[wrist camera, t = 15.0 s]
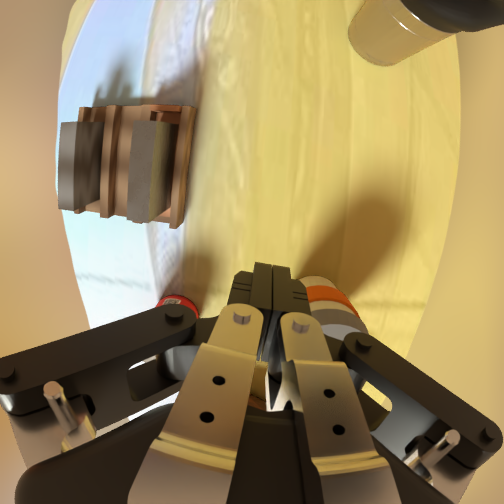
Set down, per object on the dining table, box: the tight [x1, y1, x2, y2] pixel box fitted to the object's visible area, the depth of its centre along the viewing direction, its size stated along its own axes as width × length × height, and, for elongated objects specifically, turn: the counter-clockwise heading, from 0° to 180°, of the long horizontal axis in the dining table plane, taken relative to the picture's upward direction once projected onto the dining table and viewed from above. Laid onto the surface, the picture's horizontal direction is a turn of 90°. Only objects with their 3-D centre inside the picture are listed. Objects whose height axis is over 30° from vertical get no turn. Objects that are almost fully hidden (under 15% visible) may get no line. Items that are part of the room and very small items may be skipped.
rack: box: [58, 105, 196, 229], centre depth 34 cm, size 17×18×10 cm
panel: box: [127, 120, 179, 223], centre depth 34 cm, size 12×3×8 cm, turn 171°
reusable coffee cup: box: [299, 276, 368, 341], centre depth 39 cm, size 13×13×15 cm
